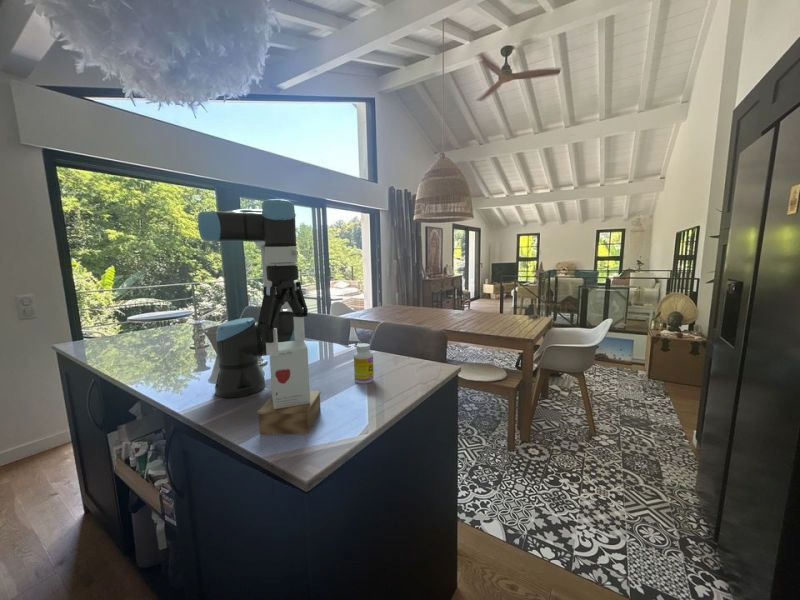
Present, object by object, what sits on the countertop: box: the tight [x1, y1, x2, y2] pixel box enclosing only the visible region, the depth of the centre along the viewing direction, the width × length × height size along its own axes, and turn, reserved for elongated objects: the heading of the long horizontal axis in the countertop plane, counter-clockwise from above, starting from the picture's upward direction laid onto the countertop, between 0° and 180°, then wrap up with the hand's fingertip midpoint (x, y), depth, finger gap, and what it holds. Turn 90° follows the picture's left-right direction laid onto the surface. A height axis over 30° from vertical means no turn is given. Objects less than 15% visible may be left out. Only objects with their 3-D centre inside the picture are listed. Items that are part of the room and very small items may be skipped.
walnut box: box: [256, 390, 322, 435], centre depth 89 cm, size 12×12×6 cm
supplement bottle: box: [353, 342, 374, 385], centre depth 118 cm, size 7×7×13 cm
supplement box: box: [269, 340, 311, 409], centre depth 88 cm, size 9×9×15 cm
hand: (287, 347), depth 87 cm, fingers open, 13 cm apart
